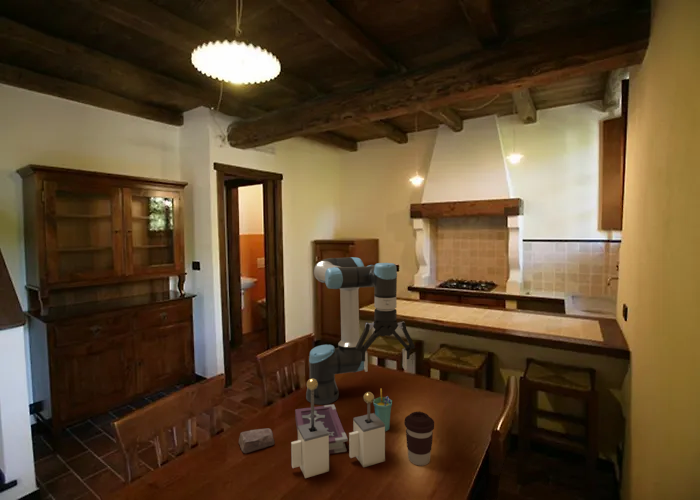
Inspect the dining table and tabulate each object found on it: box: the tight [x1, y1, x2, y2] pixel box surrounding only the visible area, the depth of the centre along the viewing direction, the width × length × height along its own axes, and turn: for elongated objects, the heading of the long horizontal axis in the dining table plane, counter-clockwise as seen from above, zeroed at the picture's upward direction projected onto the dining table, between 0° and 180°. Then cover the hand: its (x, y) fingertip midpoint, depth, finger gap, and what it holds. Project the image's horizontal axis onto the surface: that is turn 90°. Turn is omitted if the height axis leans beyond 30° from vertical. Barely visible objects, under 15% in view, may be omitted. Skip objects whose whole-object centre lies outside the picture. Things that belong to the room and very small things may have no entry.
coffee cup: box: [403, 411, 435, 466], centre depth 120 cm, size 10×10×15 cm
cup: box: [372, 388, 393, 432], centre depth 139 cm, size 14×8×15 cm, turn 15°
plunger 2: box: [363, 391, 375, 424], centre depth 121 cm, size 5×5×21 cm
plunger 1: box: [306, 378, 318, 432], centre depth 116 cm, size 5×5×21 cm
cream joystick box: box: [290, 421, 330, 479], centre depth 116 cm, size 8×11×13 cm
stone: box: [238, 428, 275, 454], centre depth 130 cm, size 12×9×5 cm
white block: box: [348, 412, 386, 468], centre depth 121 cm, size 8×11×13 cm
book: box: [294, 403, 349, 455], centre depth 136 cm, size 25×16×5 cm, turn 13°
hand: (385, 369), depth 123 cm, fingers open, 13 cm apart
